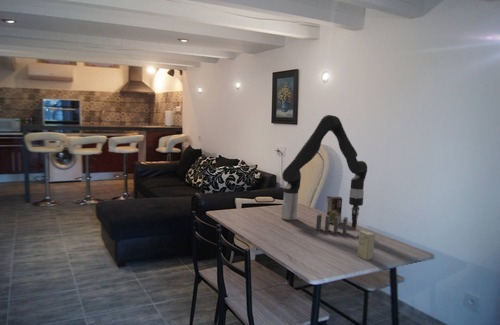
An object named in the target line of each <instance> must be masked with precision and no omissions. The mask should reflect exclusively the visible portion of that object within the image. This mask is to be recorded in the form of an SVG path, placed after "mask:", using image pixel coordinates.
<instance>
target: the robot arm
mask: <svg viewBox="0 0 500 325" xmlns="http://www.w3.org/2000/svg"><path fill="white" fill-rule="evenodd" d="M328 132H332V134H334V136H335V138H336V140H337V142H338V147H339V149H340V153H341V154H342V155H343V157H344V158H345V161H346V164H347V167H348V170H349V171H350V172H351V173H352V174H354V177H352V178H351V179H350V188H349V189H350V190H349V199H348V204H349V205H351V206H352V208H351V227H356V228H357V225H358V223H357V224H356V221H357V222H358V219H359V214H360V213H359V212H360V207H361V206H363V204H364V192H365V191H364V185H365V183H364V182H365V180H366V176H367V172H368V164H367V163H366V162H365V161H363V160H358V159H357V157H358V153H357V151H356V149H355V148H354V146H353V144H352V143H351V141H350V140H349V137H348V136H347V133H346V131H345V129H344V127H343V125H342V121H341V119H340V118H339V117H338V116H336V115H332V114H326V115H324V116H323V117H322V118H321V119H320V121H319V123H318V125H316V128H315V129H314V131H313V132H312V134H311V135H310V136H309V138H308V139H307V141H306V142H305V143H304V145H303V146H302V148H301V149H300V150H299V151H298V153H297V154H296V156H295V157H294V158H293V160H292V161H291V162H290V164H288V165H287V166H286V168H284V170H283V172H282V180H283V181H284V182H286V183H287V184H286V185H285V187H283V202H282V204H281V219H283V220H286V221H287V220H288V221H296V220H297V219H298V204H299V191H300V187H301V182H302V181H301V180H302V173H301V169H302V168H304V166H305V165H307V164H308V163H309V162H311V161H312V160H313V159H314V158H315V156H316V155H317V154H318V152H319V151H320V149H321V146H322V141H323V140H324V137H325V136H327V134H328ZM353 216H354V217H355V218H353Z"/></svg>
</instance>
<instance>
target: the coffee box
mask: <svg viewBox="0 0 500 325" xmlns="http://www.w3.org/2000/svg"><path fill="white" fill-rule="evenodd" d="M325 208H326V209H325V217H326V216H327V215H330V224H334V218H335V216H339V222H338V225H339V224H342V223H341V222H342V209H343V198H342V197H341V196H331V195H330V196H329V195H328V196H327V195H326V207H325Z"/></svg>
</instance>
